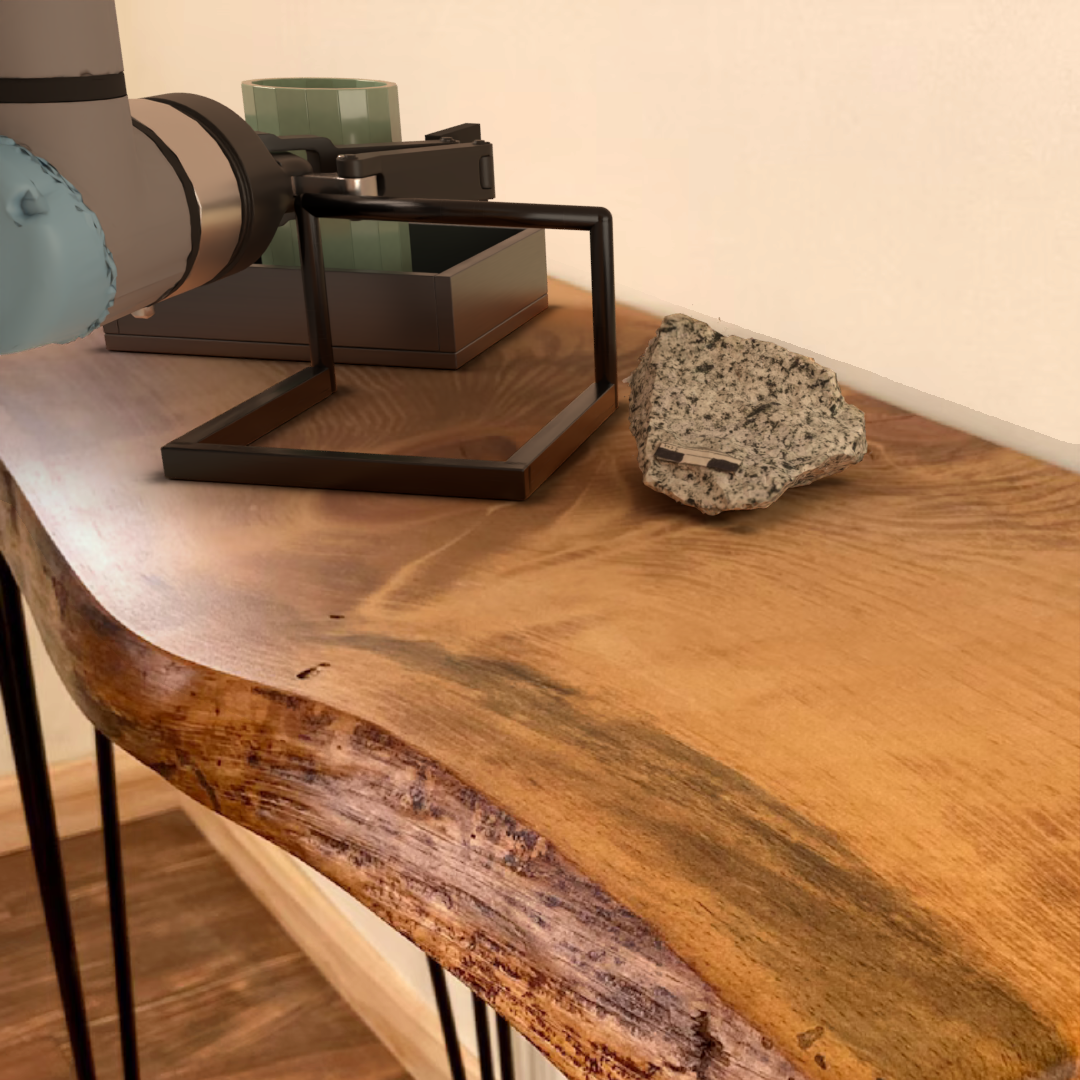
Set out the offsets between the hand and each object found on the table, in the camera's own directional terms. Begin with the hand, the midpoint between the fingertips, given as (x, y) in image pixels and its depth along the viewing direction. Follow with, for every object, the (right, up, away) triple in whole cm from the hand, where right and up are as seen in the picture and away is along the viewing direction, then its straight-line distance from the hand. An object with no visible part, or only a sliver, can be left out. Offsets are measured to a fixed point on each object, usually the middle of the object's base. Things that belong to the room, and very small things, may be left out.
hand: (347, 145), depth 92 cm
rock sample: (+22, -23, -24) cm, 40 cm away
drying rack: (+8, -20, -19) cm, 28 cm away
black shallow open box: (-1, -9, +1) cm, 9 cm away
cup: (0, -8, +1) cm, 8 cm away
